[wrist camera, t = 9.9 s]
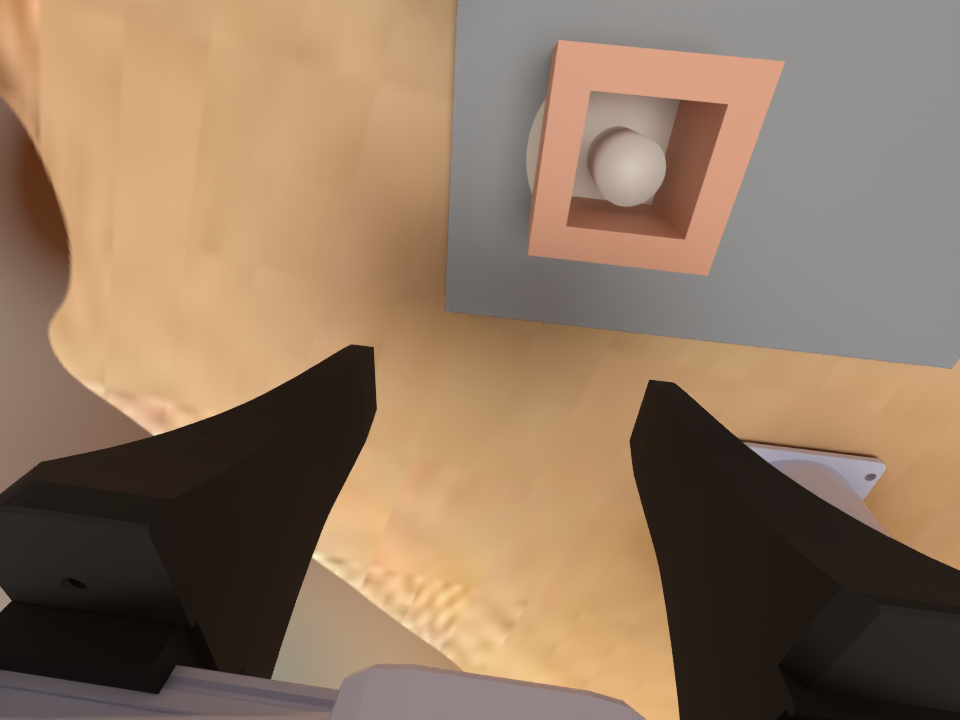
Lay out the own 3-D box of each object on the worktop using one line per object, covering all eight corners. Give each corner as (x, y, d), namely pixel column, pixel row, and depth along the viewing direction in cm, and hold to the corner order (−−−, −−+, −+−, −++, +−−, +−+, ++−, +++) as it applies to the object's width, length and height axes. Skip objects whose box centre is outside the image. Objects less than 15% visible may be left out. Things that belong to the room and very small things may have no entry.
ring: (670, 234, 18) (707, 275, 14) (529, 218, 18) (527, 255, 14) (721, 66, 15) (785, 61, 11) (552, 50, 15) (558, 39, 11)
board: (931, 354, 21) (1026, 419, 17) (448, 300, 22) (429, 349, 18) (1211, -55, 14) (1497, -112, 10) (467, -108, 15) (442, -181, 10)
